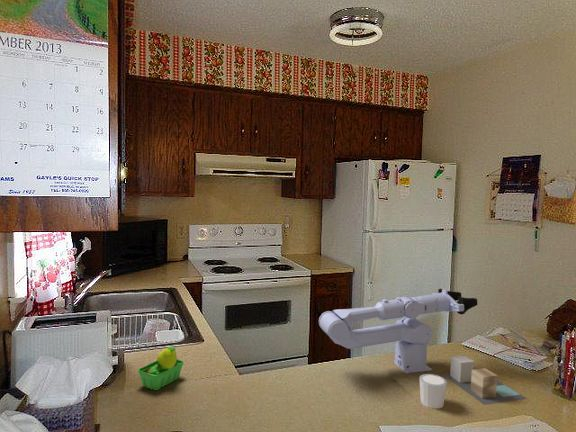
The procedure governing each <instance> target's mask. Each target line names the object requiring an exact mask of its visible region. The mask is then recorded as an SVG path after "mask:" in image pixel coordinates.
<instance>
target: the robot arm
mask: <svg viewBox="0 0 576 432" xmlns="http://www.w3.org/2000/svg"><path fill="white" fill-rule="evenodd" d="M437 291H438V292H432V293H430V294H427V295H426V294H425V295H418V296H414V297H413V296H412V297H408V296H403V295H399V296H398V297H396V298H395V299H390V300H388V299H386V298H384V299H381V301H378V302H377V303H376V304H375V305H374V306H368V307H366V306H365V307H354V308H343V309H341V308H340V309H339V308H338V309H333V310H332V311H330V310H327V311H324V312H322V313H321V315H320V316H319V318H318V325H319V328H321V330H322V331H323V333H325V334H326V336H328V337H329V339H331V340H332V342H333V343H334V344H336V345H339V346H340V347H341V346H342V347H344V348H345V349H348V350H351V349H352V350H353V349H358V348H363V347H370V346H377V345H382V344H388V343H395V346H394V347H395V348H394V362H393V363H394V364H395V365H396V366H397V367H398V368H399V369H401V370H402V371H403V372H404V373H406V374H409V373H418V372H426V371H432V370H433V369H432V368H431V367H429V366H428V362H427V359H428V344H429V342H430V341H431V340H432V337H433V335H434V334H433V328H432V327H431V326H430V325H429V324H427V323H424V322H422V321H421V320H419V319H418V318H417V317H419V316H420V315H428V314H433V313H440V312H441V313H442V312H457V314H458V315H465V314H466V312H467V311H468V310H470V309H472V308H475V307H476V306H478V298H477V297H476V298H475V297H462V292H461V291H460V292H459V291H450V290H447V289H443V288H438V290H437ZM377 318H378V319H379V320H380V321H381V322H383V321H387V320H388V321H389V320H394V319H396V321H395V323H391V324H384V325H379V326H378V325H377V326H370V327H366V328H365V327H364V328H358V329H353V327H354V325H355V324H356V323H358V322H363V321H367V320H372V319H377ZM401 318H402V319H401ZM397 319H398V320H397Z"/></svg>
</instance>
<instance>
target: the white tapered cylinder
mask: <svg viewBox="0 0 576 432" xmlns="http://www.w3.org/2000/svg"><path fill="white" fill-rule="evenodd" d="M447 385H448V381H447V379H445V378H444V377H442V376H440V375H438V374H433V373H425V374H424V373H423V374H422V375H421V374H420V376H419V393H420V395H419V396H420V405H421V404H422V405H423V406H425V407H426V408H430V409H434V410H435V409H436V410H437V409H442V408H443V407H444V405H445V398H446V393H447ZM422 405H421V406H422ZM423 406H422V407H423Z"/></svg>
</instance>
